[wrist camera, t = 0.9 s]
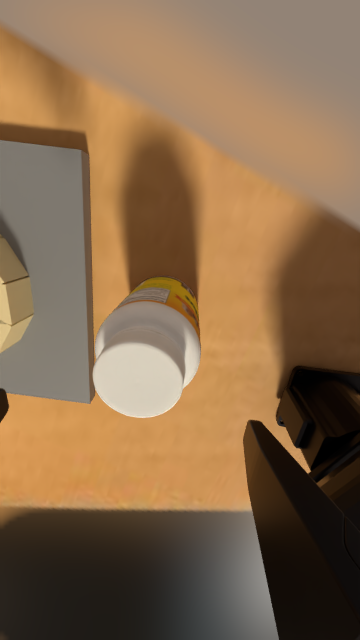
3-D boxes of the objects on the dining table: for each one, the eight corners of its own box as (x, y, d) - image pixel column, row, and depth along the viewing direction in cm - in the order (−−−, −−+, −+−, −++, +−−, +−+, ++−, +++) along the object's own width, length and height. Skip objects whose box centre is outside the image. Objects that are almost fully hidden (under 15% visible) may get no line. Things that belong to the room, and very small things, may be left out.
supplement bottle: (198, 337, 20) (202, 434, 11) (134, 337, 21) (85, 432, 11) (198, 272, 18) (202, 322, 9) (127, 273, 19) (59, 323, 9)
